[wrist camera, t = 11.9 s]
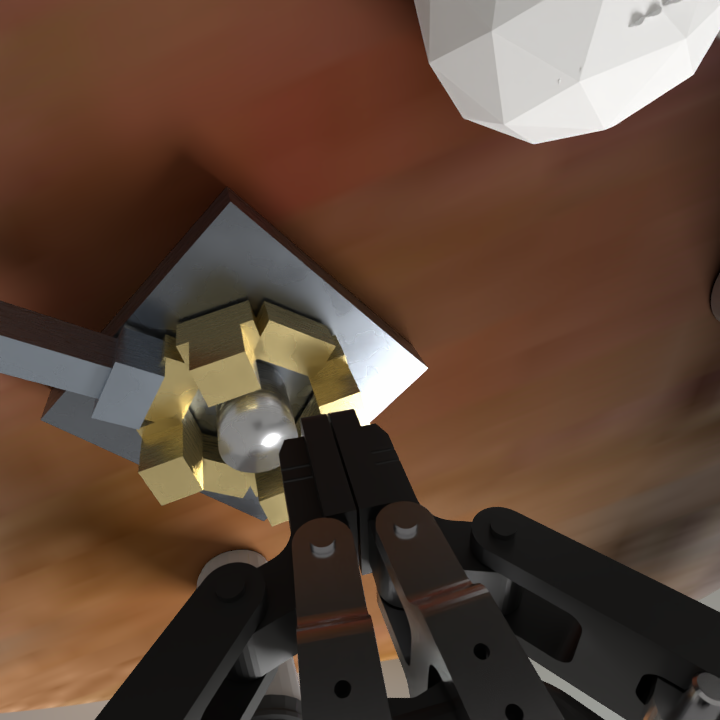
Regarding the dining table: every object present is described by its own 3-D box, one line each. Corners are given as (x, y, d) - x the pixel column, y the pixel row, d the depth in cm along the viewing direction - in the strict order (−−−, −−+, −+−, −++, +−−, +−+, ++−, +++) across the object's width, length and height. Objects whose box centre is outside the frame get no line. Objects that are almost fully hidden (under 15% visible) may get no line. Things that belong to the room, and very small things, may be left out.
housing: (412, 346, 39) (457, 412, 33) (259, 492, 43) (272, 577, 36) (227, 186, 30) (238, 234, 23) (51, 390, 33) (18, 480, 27)
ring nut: (381, 348, 34) (408, 395, 30) (292, 484, 39) (305, 542, 35) (21, 201, 25) (-12, 241, 20) (-44, 406, 29) (-83, 473, 25)
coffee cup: (296, 544, 47) (334, 727, 35) (262, 604, 51) (286, 791, 38) (202, 534, 44) (209, 736, 31) (172, 600, 47) (167, 805, 35)
